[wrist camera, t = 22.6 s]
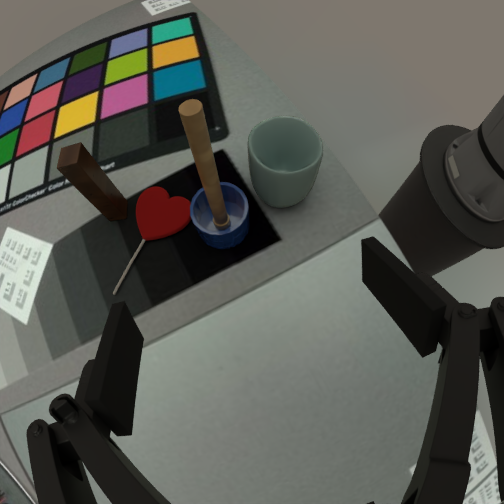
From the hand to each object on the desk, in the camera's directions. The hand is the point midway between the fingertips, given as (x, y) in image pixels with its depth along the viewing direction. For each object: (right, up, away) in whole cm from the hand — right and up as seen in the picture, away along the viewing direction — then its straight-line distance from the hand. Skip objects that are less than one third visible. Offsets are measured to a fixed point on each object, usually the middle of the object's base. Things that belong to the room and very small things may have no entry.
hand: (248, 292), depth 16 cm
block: (-18, +8, +23) cm, 31 cm away
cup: (+4, +10, +24) cm, 26 cm away
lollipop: (-13, +3, +22) cm, 26 cm away
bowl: (-3, +5, +22) cm, 23 cm away
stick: (-3, +6, +22) cm, 23 cm away
